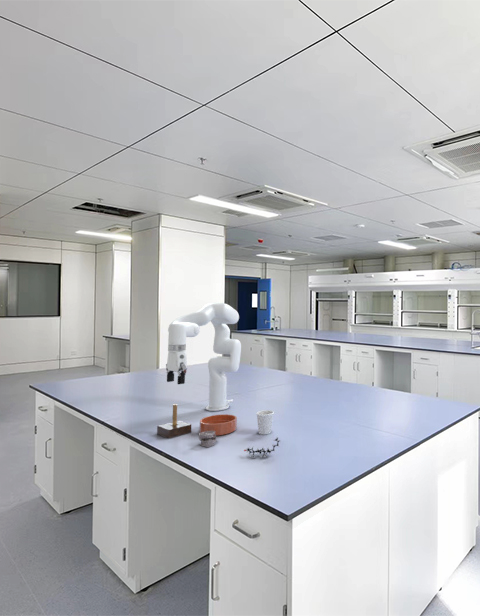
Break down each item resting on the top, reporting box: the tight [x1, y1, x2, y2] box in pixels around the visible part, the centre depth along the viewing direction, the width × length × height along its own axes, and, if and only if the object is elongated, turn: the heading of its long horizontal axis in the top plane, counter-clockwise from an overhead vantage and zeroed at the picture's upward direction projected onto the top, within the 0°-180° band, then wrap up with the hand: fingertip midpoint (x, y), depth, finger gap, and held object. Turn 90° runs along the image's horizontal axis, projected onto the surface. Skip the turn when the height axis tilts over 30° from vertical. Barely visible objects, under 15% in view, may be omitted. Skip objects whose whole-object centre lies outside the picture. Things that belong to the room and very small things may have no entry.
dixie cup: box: [255, 409, 275, 435], centre depth 187 cm, size 8×8×10 cm
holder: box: [156, 420, 192, 439], centre depth 182 cm, size 11×11×4 cm
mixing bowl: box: [198, 413, 238, 437], centre depth 187 cm, size 17×17×6 cm
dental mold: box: [198, 431, 217, 448], centre depth 170 cm, size 8×7×5 cm
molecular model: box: [243, 436, 282, 458], centre depth 157 cm, size 6×15×8 cm, turn 96°
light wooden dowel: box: [172, 403, 178, 426], centre depth 182 cm, size 2×2×14 cm
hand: (175, 382), depth 185 cm, fingers open, 9 cm apart
